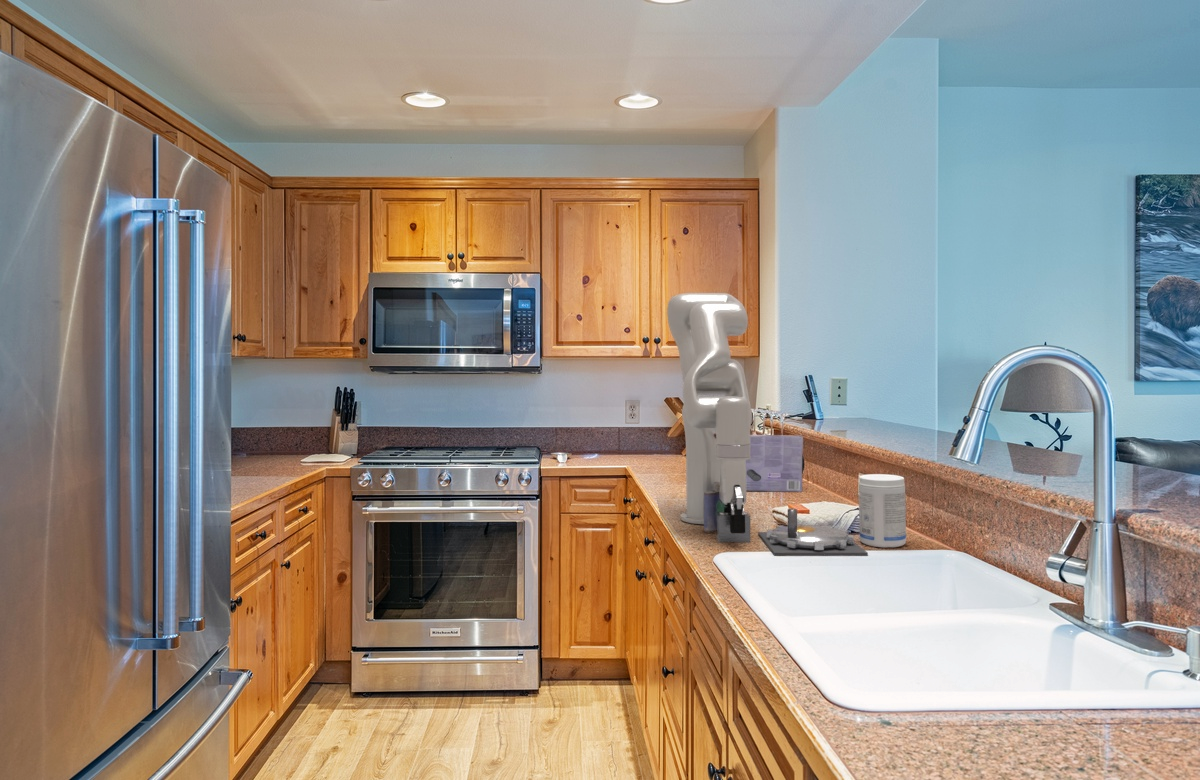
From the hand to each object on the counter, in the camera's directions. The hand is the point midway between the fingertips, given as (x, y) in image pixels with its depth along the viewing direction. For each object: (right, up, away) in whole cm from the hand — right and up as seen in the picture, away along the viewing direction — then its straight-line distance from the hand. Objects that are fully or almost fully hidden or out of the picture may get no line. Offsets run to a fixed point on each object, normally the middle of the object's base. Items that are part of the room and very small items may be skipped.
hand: (734, 528), depth 164 cm
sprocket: (+16, -2, -4) cm, 16 cm away
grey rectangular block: (0, -3, +1) cm, 3 cm away
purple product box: (+24, -1, +66) cm, 70 cm away
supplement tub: (+32, -3, -3) cm, 32 cm away
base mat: (+16, -3, -4) cm, 16 cm away
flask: (-2, -3, +12) cm, 12 cm away
